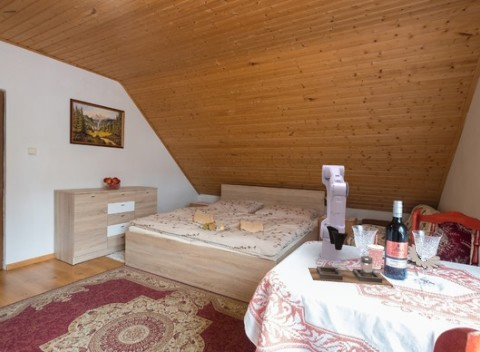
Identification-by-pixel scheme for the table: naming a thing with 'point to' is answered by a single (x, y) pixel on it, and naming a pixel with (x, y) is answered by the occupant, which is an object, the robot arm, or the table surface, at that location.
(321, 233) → the robot arm
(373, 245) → the beverage cup
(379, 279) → the dock board
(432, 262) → the flower
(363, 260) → the metal cylinder
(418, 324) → the table surface
